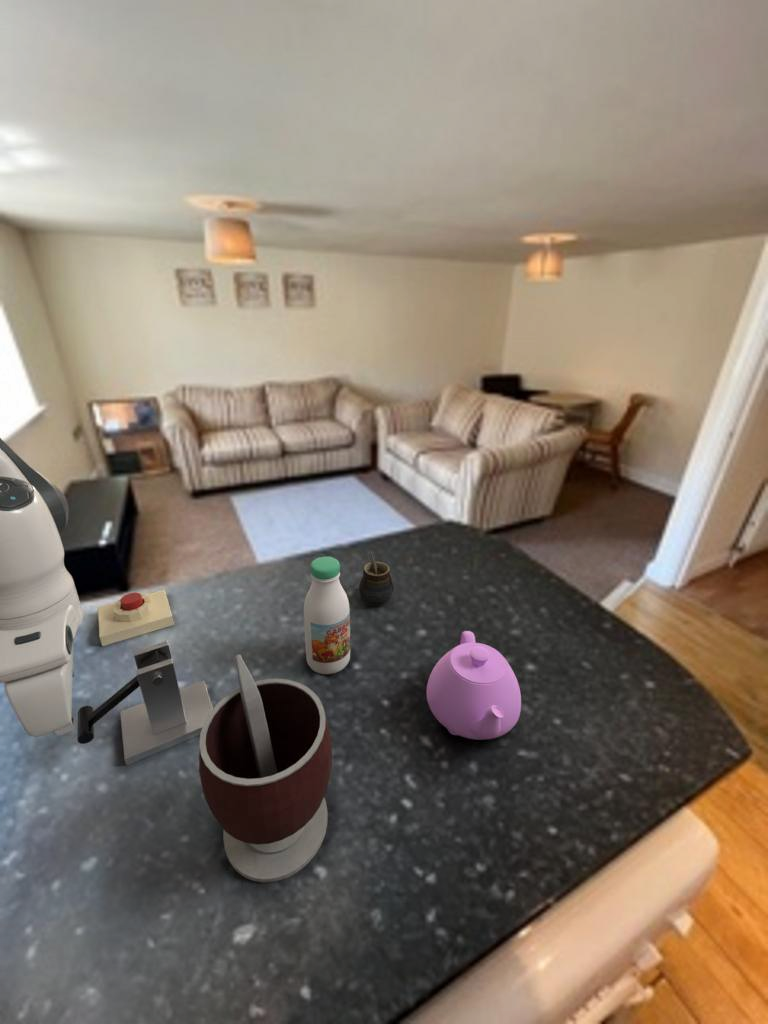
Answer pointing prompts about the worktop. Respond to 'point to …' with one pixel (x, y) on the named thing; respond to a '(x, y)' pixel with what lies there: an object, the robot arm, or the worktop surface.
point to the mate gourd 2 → (376, 583)
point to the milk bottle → (326, 619)
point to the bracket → (162, 708)
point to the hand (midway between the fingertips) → (66, 701)
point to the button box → (134, 618)
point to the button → (131, 601)
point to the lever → (109, 703)
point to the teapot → (474, 691)
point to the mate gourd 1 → (267, 774)
